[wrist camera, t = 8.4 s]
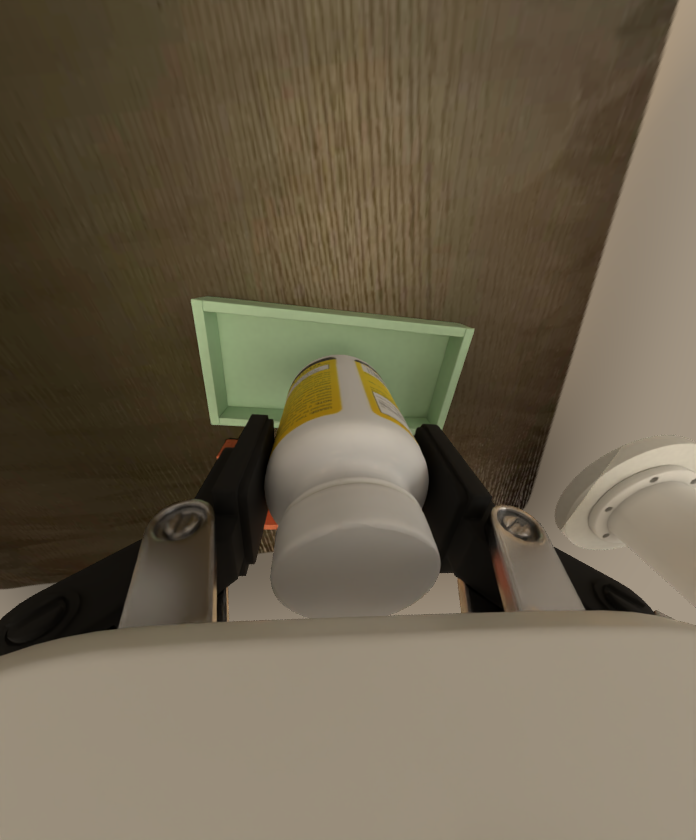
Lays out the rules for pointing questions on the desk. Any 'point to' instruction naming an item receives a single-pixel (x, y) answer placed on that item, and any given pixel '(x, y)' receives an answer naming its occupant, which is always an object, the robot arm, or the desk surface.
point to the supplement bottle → (347, 497)
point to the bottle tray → (314, 338)
